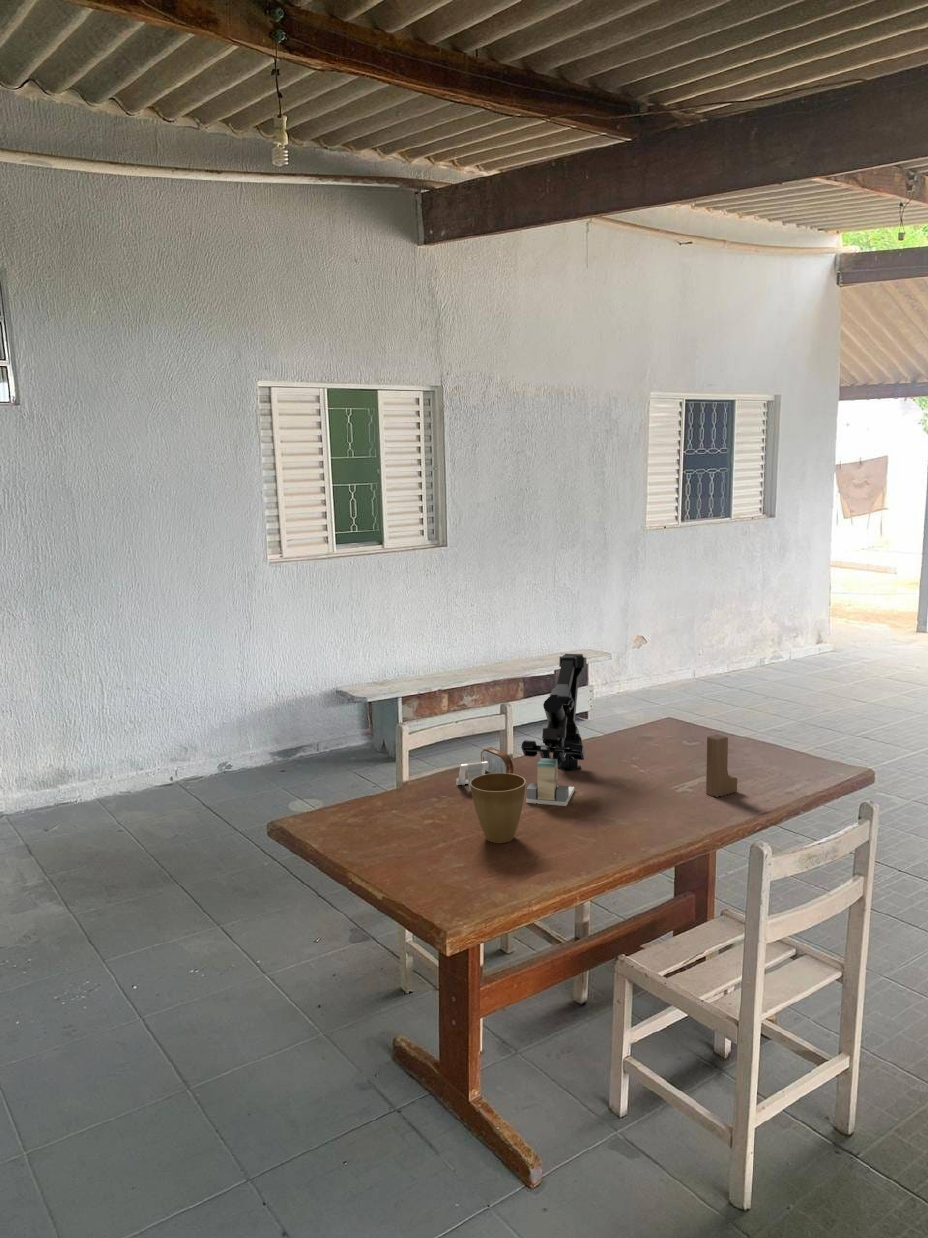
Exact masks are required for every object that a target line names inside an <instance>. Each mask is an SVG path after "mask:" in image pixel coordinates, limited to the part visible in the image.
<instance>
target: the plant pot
mask: <svg viewBox="0 0 928 1238" xmlns="http://www.w3.org/2000/svg"><path fill="white" fill-rule="evenodd" d="M526 782H527V781H526V778H524V777H523V776H521V775H518V774H515V773H513V774H510V773H485V774H484V775H480V776H477V777H475V778H473V779H472V780H471V781H470V787H471V795H472V796H471V797H472V801H473V805H474V808H475V812H476V815H477V819H478V821H479V824H480V827H481V830H482V832H483V834H484V836H485V839H486V840H487V841H488V842H489V841H490V842H489V843H492V842H493V844H505V843H508V842H511V841H513V840H514V838H515V835H516V832H517V828H518V826H519V823H520V819H521V816H522V810H523V805H524V799H525V792H526Z"/></svg>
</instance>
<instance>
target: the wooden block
mask: <svg viewBox="0 0 928 1238" xmlns="http://www.w3.org/2000/svg"><path fill="white" fill-rule="evenodd" d="M728 748H729V737H728V736H724V735H721V734H718V733H716V734H712V735H709V736H707V737H706V771H705V772H706V774H705V775H706V776H705V777H706V778H705V779H706V781H705V782H706V784H705V786H706V787H705V794H706V795H708V796H711V797H714V796H715V797H714V798H717V797H718V798H720V797H719V796H721V797H724V796H727V794H728V795H731V794H734V793H737V792H738V777H735V776H733V775H729V771H728V770H729V769H728V761H729V760H728V759H729V757H728V753H729V749H728ZM736 791H737V792H736ZM733 792H734V793H733ZM730 793H731V794H730Z"/></svg>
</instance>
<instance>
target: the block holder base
mask: <svg viewBox="0 0 928 1238" xmlns="http://www.w3.org/2000/svg"><path fill="white" fill-rule="evenodd" d="M574 792H575V786H570V785H561V784H560V785H559V784H558V787H557V789H556V791H555V800H544V799H538V783H534V782H532V783H529V784H528V786H527V788H526V799H525V800H526V804H527V803H528V804H536V803H537V804H538V805H550V806H551V805H552V806H560V807H561V806H564V807H567V806H568V803H569V802H570V800H571V798H572V796H573V794H574Z"/></svg>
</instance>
